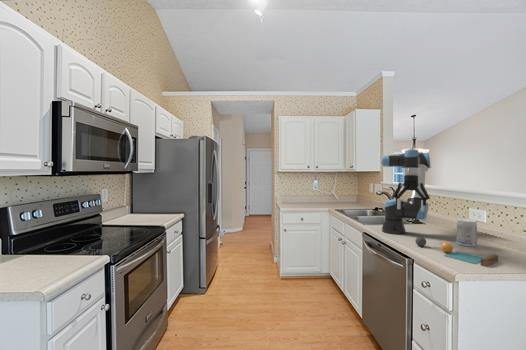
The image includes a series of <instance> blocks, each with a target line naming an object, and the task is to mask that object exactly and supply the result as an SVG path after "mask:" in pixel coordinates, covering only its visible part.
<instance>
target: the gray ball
mask: <svg viewBox="0 0 526 350" xmlns="http://www.w3.org/2000/svg"><path fill="white" fill-rule="evenodd" d="M415 244H416V245H417V246H419V247H424V246H426V244H427V239H425V237H423V236H418V237H416V238H415Z"/></svg>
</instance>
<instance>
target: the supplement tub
mask: <svg viewBox="0 0 526 350" xmlns="http://www.w3.org/2000/svg"><path fill="white" fill-rule="evenodd" d="M477 236H478V223H477V220H475V219H470V218H469V219H468V218H457V219H456V244H457V245H459V246H462V247H463V246H464V247H468V248H470V247H472V248H473V247H476V246H477V245H478V244H477V241H478V239H477V238H478V237H477Z"/></svg>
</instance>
